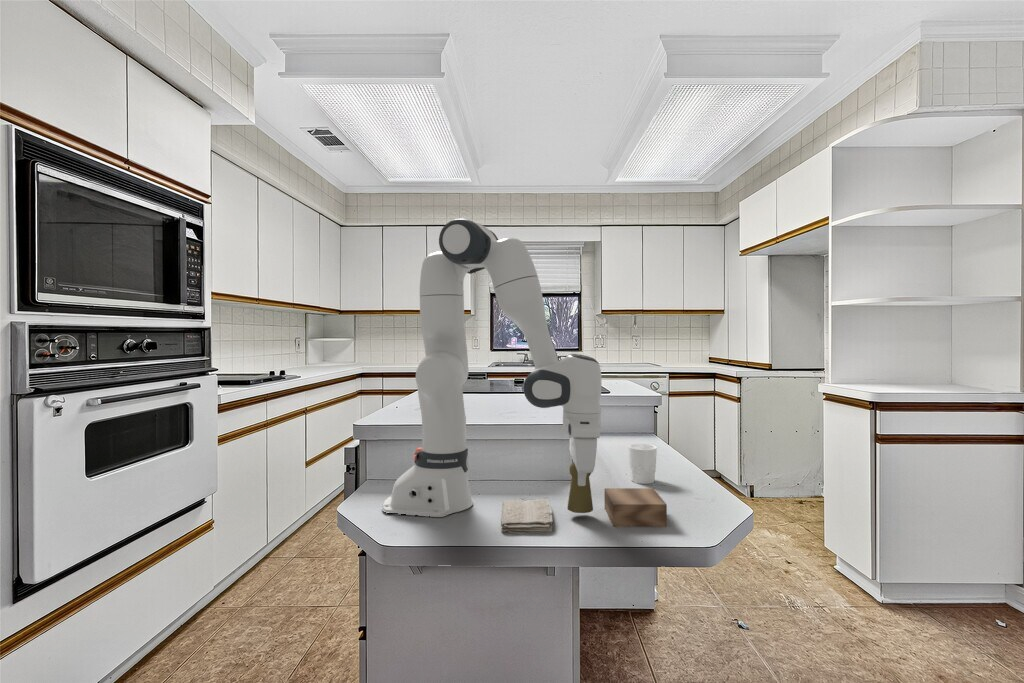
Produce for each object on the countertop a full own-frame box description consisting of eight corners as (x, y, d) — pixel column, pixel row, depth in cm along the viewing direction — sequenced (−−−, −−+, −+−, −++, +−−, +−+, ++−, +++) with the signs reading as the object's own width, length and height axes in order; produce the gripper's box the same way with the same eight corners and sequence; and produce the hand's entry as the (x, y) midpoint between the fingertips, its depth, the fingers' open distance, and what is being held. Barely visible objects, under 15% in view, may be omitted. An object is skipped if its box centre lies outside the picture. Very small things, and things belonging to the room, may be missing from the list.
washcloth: (500, 536, 116) (500, 522, 116) (501, 508, 134) (501, 496, 134) (555, 535, 116) (555, 521, 116) (548, 508, 134) (548, 495, 134)
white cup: (656, 485, 151) (656, 450, 150) (628, 483, 153) (628, 448, 152) (656, 478, 158) (656, 444, 158) (629, 476, 160) (629, 443, 160)
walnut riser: (613, 526, 120) (613, 504, 119) (604, 508, 132) (604, 488, 131) (666, 526, 119) (666, 504, 119) (653, 508, 131) (653, 488, 131)
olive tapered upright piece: (593, 513, 122) (593, 466, 122) (566, 512, 123) (567, 465, 123) (593, 505, 128) (593, 459, 128) (568, 503, 129) (568, 458, 129)
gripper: (564, 415, 136) (563, 469, 136) (572, 431, 115) (570, 494, 116) (589, 416, 136) (587, 470, 136) (601, 432, 115) (599, 495, 116)
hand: (579, 481), depth 126 cm, fingers closed on olive tapered upright piece, 4 cm apart
